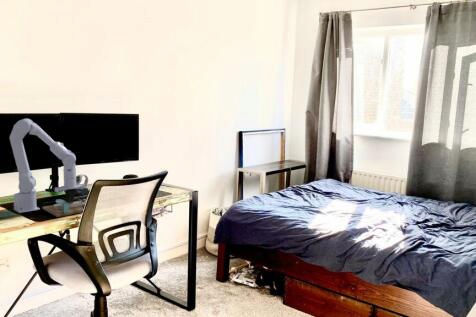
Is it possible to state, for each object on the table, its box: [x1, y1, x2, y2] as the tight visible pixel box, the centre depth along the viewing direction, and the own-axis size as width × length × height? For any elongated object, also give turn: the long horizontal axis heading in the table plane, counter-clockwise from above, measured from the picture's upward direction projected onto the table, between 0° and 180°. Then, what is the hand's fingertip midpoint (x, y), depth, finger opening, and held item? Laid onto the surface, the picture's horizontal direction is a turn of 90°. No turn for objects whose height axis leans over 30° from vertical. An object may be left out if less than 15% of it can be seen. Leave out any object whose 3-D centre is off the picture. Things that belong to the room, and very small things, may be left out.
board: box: [41, 199, 84, 218], centre depth 207 cm, size 21×17×1 cm
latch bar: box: [53, 198, 87, 210], centre depth 206 cm, size 16×4×3 cm, turn 128°
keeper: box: [55, 198, 69, 213], centre depth 200 cm, size 2×9×5 cm, turn 47°
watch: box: [76, 173, 89, 196], centre depth 236 cm, size 6×8×11 cm
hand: (70, 203), depth 208 cm, fingers closed, pressing on latch bar
